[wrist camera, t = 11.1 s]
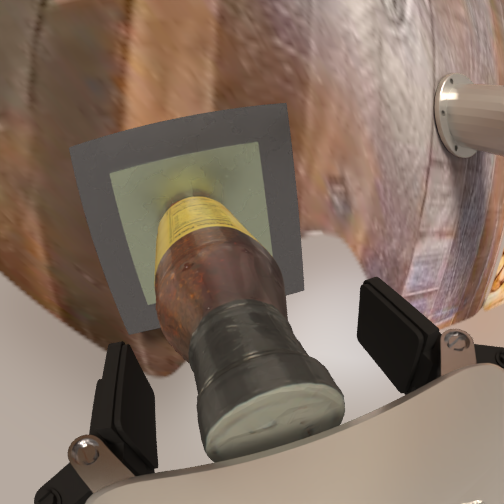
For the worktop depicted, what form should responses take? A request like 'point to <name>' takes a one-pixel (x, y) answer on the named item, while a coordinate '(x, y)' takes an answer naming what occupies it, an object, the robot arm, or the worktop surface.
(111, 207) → the stand
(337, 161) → the worktop surface
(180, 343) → the sauce bottle
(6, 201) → the worktop surface
